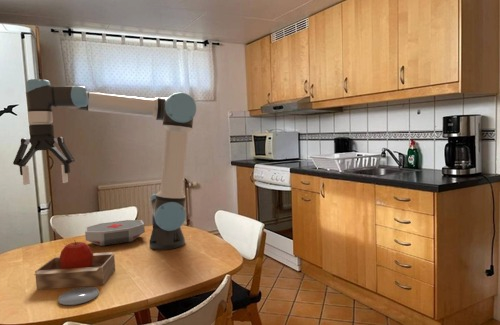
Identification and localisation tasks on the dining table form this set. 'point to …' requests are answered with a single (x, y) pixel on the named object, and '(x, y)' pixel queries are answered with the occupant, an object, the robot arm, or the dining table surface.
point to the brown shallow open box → (75, 273)
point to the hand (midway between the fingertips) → (46, 183)
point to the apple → (76, 256)
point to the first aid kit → (114, 232)
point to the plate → (78, 295)
